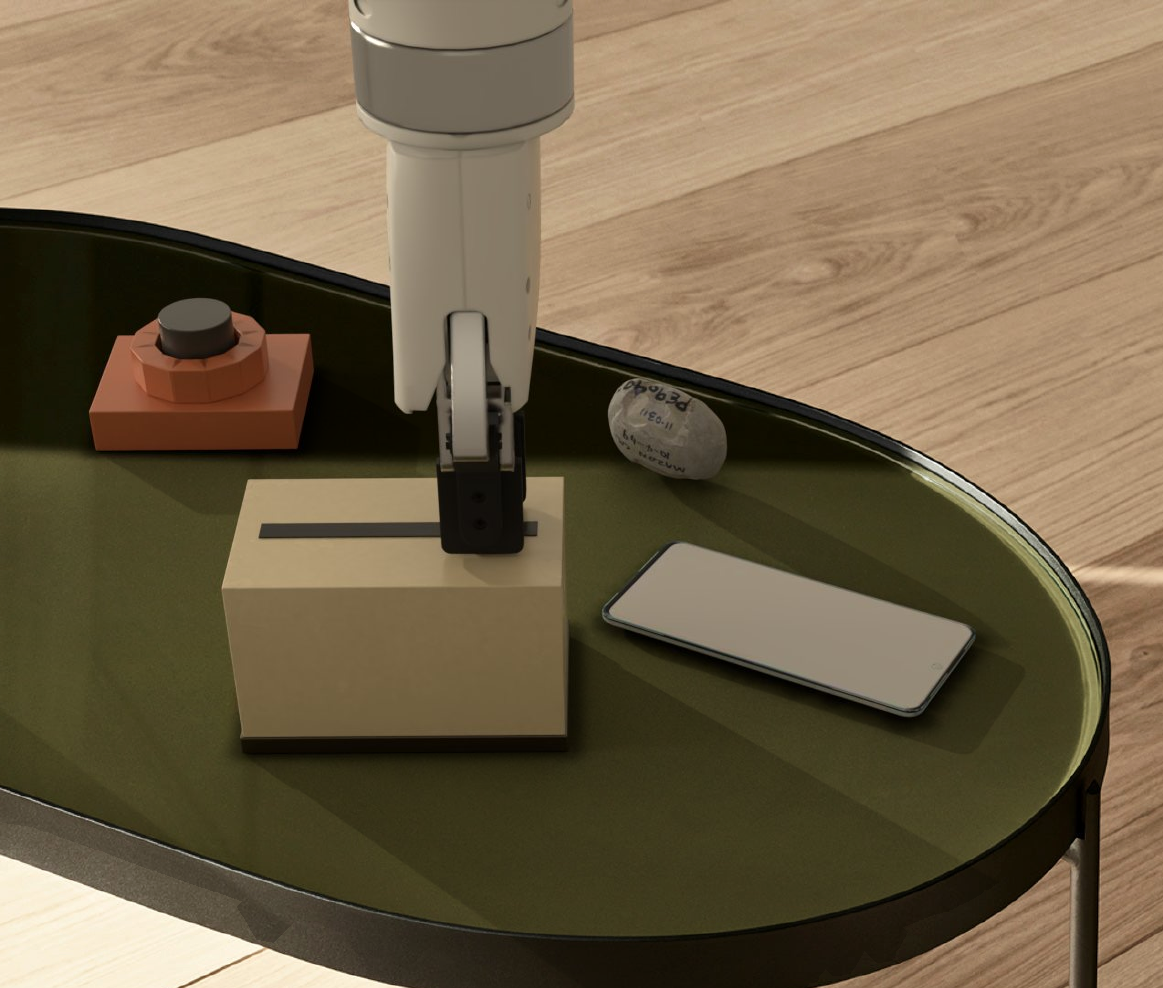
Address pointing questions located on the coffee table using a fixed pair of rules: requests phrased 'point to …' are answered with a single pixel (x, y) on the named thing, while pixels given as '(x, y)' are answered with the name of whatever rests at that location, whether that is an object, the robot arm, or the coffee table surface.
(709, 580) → the smartphone
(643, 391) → the fossil
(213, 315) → the timer button
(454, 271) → the robot arm
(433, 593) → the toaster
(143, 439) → the timer box
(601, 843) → the coffee table surface
